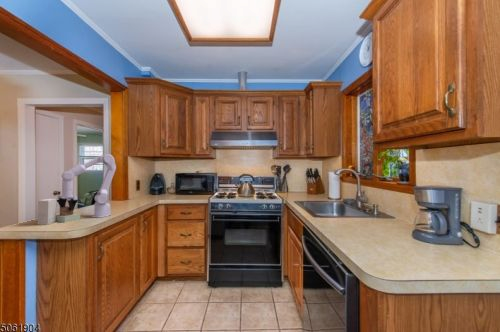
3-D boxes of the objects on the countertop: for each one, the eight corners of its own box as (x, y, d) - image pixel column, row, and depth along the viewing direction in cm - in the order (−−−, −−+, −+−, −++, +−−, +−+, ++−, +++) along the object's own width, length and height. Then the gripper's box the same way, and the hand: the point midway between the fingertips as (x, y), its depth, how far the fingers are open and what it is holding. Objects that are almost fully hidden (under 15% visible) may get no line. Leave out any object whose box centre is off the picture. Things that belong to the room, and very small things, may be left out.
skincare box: (46, 221, 152) (46, 198, 152) (56, 221, 153) (57, 198, 153) (36, 225, 144) (37, 200, 144) (48, 224, 145) (48, 200, 145)
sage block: (69, 218, 164) (69, 212, 164) (80, 219, 161) (80, 213, 161) (53, 221, 154) (53, 215, 154) (64, 223, 151) (64, 216, 151)
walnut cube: (67, 213, 160) (67, 206, 160) (73, 214, 159) (73, 206, 159) (59, 215, 155) (59, 207, 155) (65, 215, 154) (65, 208, 154)
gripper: (52, 189, 156) (52, 210, 156) (69, 190, 152) (69, 212, 152) (63, 188, 162) (63, 208, 162) (80, 189, 158) (80, 210, 159)
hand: (67, 210), depth 158 cm, fingers open, 7 cm apart
